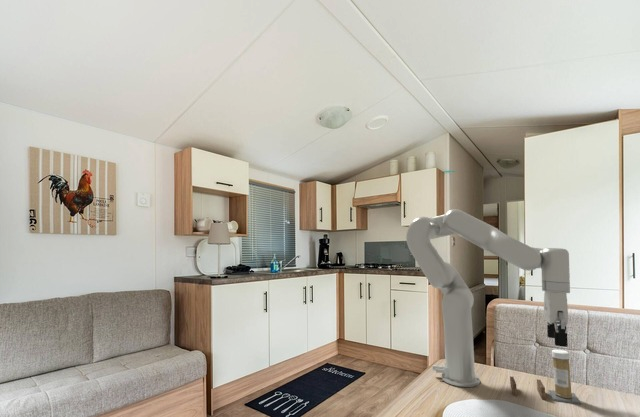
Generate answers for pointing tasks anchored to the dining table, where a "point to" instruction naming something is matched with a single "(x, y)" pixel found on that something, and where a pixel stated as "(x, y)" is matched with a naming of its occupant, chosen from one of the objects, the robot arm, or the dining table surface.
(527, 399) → the dining table surface
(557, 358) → the sprinkles bottle
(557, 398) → the slate coaster
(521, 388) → the dining table surface
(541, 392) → the walnut rack
